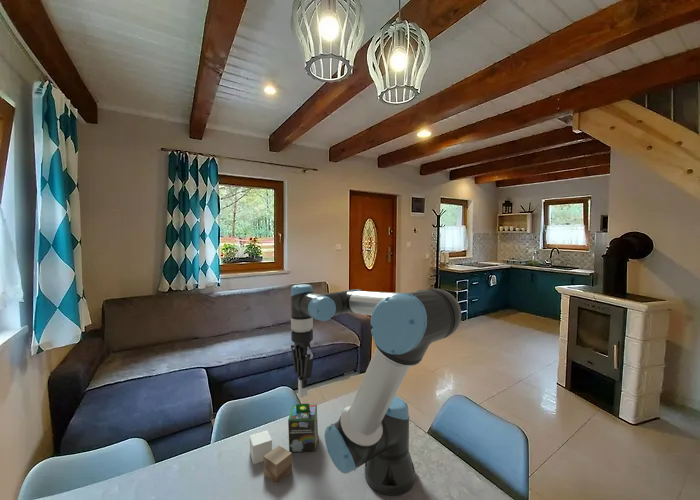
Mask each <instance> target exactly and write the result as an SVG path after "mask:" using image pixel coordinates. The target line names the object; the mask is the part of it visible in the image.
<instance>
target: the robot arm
mask: <svg viewBox="0 0 700 500" xmlns="http://www.w3.org/2000/svg"><path fill="white" fill-rule="evenodd" d="M313 289H314V287H313V286H312V285H311V284H305V283H304V284H303V283H302V284H295V285H293V286H291V287H290V297H289V298H290V329H291V331H290V334H291V335H290V337H291V338H290V339H291V342H293V343H294V344H291V345H290V349H291V352H292V354H291V355H292V362H293V371H294V374H296V376H297V382H298V383H297V389H298V393H297V394H298V397H299V398H300V399H301V398H304V397H307V396H308V379H311V378H312V375H313V374H312V373H313V365H314V359H315V357H316V354H315V352H312V350H311V349H312V348H311V343H312V341H313V340H314V330H313V328H314V321H313V320H317V321H321V322H326V321H329V320H331V318H333V317H334V316H338V315H342V314H347V313H350V314H359V315H363V316H364V315H365V316H370V326H372V329H371V328H370V329H371V330H370V332H371V336H372V339H373V342H374V345H375V350H374V352H373V355H372V357H371V359H370V361H369V364H368V366H367V368H366V371H365V373H364V374H363V378H362V380H361V381H360V385H359V386H358V389H357V391H356V394H355V397H354V399H353V402H352V403H350V404H348V405H346V406H345V408H343V410H342V411H341V414H340V416H339V419H338V421H336V422H334V423H330V425H328V426H327V427H326V428H325V431H324V442H325V446H326V449H327V452H328V456H329V458H330V459H331V461H332V463H333V465H334V466H335V468H336V469H337V471H339V472H340V473H342V474H349V473H351V472H354V471H356V470H357V469H358V468H359V467H361V466H363V465H364V478H365V481H366V482H367V484H368V486H369V487H370V488H371V489H373V490H374V491H376V492H378V493H379V494H382V495H387V496H399V495H403V494H405V493H407V492H409V490H411V489H412V488H413V486H414V484H415V480H416V470H415V465H414V462H413V459H412V456H411V453H410V413H409V405H408V403H407V402H406V401H405V400H404V399H402V398H400V397H399V396H397V392H398V390H400V388H401V385H402V383H403V382H404V379H405V377H406V375H407V374H408V371H409V369H410V368H411V367H414V366H417V365H418V364H421V363H420V362H422V360H423V357H424V356H425V354H426V352H427V350H428V348H429V347H430V345H431V344H433V343H435V342H438V341H441V340H444V339H446V338H449V336H451V335H453V334H454V333H455V332H456V331H457V329H458V328H459V326H460V323H461V320H462V309H461V306H460V304H459V301H458V300H457V298H455V296H454V295H453V294H451V293H450V292H449V291H446V290H444V289H442V288H428V289H427V288H426V289H418V290H415V291H413V292H412V291H411V292H392V291H391V292H388V291H372V290H371V291H369V290H367V291H366V290H362V289H358V288H357V289H356V288H355V289H349V290H343V291H334V292H326V293H325V292H324V293H320V294H318V293H314V290H313Z"/></svg>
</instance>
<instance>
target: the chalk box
mask: <svg viewBox="0 0 700 500" xmlns="http://www.w3.org/2000/svg"><path fill="white" fill-rule="evenodd" d="M290 409H291V410H290V413H289V416H288V421H287V424H288V427H287V429H288V451H289V452H291V453H299V452H300V453H302V452H304V453H306V452H307V453H309V452H311V453H312V452H316V449H317V443H318V437H319V431H318V430H319V427H318V425H319V424H318V421H319V420H318V406H317V403H315V404H310V403H296V404H295V405H292V407H291V408H290Z"/></svg>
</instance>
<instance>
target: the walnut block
mask: <svg viewBox="0 0 700 500" xmlns="http://www.w3.org/2000/svg"><path fill="white" fill-rule="evenodd" d="M263 459H264V461H263V476H264V477H265V478H267V479H268V480H270V481H271V482H273V483H274V484H276V485H279V483H281V482H282V481H283V480H284V479H285V478H287V477H288V476H289V475H290V474H292V473H293V452H289V449H288V450H287V449H286V448H285V447H283V446H281V445H277V446H276V447H275V448H272V451H270V452H269V453H267V454H266V455H265V456H263Z"/></svg>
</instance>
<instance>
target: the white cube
mask: <svg viewBox="0 0 700 500" xmlns="http://www.w3.org/2000/svg"><path fill="white" fill-rule="evenodd" d="M272 450H273V440H272V436H271V435H270V432H269V431H268V429H266V430H264V431H260V432H257V433H253V434H250V435H249V454H250V457H251V461H252V464H253V465H256V464H260V463H261V462H264V459H263V456H265V455H266V454H267V453H269V452H270V451H272Z"/></svg>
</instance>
